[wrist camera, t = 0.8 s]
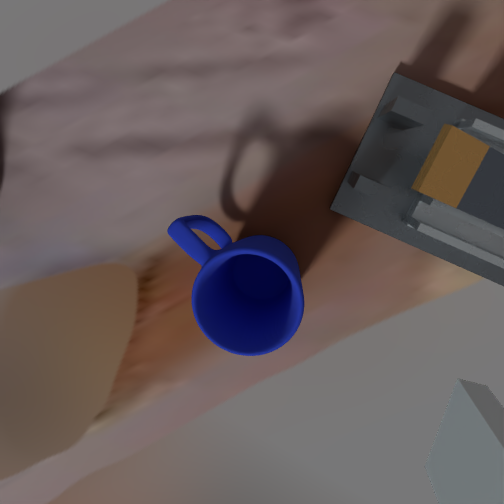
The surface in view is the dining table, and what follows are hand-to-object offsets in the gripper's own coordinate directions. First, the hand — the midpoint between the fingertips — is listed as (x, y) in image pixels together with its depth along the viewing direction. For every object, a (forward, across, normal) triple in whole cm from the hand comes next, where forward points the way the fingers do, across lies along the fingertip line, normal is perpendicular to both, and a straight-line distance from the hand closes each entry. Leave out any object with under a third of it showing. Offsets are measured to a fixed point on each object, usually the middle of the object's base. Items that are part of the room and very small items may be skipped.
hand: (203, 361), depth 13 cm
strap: (+19, +16, +5) cm, 25 cm away
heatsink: (+30, +16, +5) cm, 34 cm away
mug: (+30, -1, -5) cm, 31 cm away
